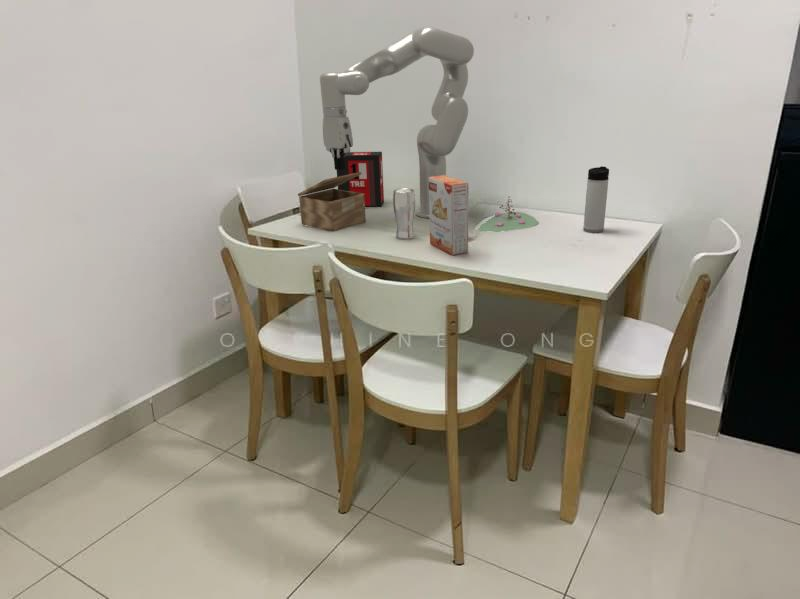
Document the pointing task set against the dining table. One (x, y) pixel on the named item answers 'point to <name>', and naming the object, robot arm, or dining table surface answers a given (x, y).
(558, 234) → the dining table surface
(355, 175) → the lid
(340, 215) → the box
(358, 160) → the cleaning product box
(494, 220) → the plant
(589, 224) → the travel mug
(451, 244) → the cracker box
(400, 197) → the beer glass
